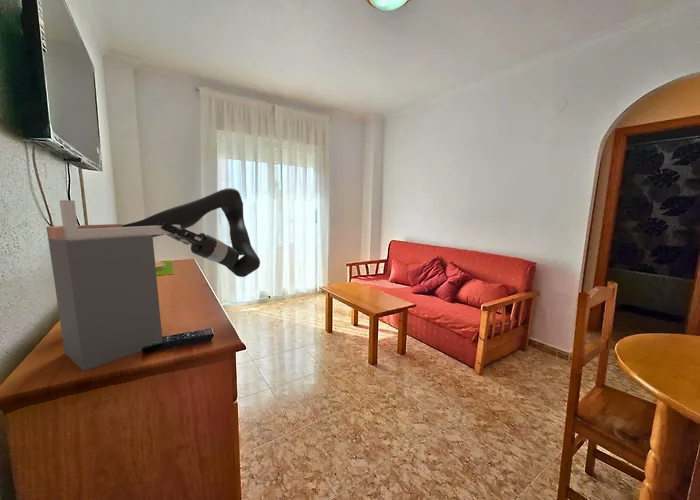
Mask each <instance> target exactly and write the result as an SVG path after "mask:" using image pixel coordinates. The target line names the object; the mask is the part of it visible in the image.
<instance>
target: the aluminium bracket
mask: <svg viewBox="0 0 700 500" xmlns="http://www.w3.org/2000/svg"><path fill="white" fill-rule="evenodd" d="M59 206H60V214H61V221H62V226H63V230H64V237H65V240H67V241H72V240H87V239H102V238H117V237H132V236H146V235H161V234H165V235H166V234H172V233H170V232H168V231H165V230H163V229H162V225H160V226H138V227H115V228H93V229H78V225H79V224H78V219H77V218H78V216H77V210H76V202H75V200H71V199H69V200H68V199H67V200H66V199H65V200H64V199H63V200H62V199H61V200H59ZM173 226H175V227H177V228H181V227H180V225H173ZM174 234H175V233H174ZM161 236H162V235H161Z"/></svg>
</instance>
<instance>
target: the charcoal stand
mask: <svg viewBox="0 0 700 500" xmlns="http://www.w3.org/2000/svg"><path fill="white" fill-rule="evenodd" d="M122 225H123V223H110V224H83V225H81V224H80V225H79V224H78V229H93V228H115V227H123V226H122ZM46 234H47V239H48V247H49V248H48V249H49V253H50V254H49V255H50V261H51V266H52V274H53V281H54V288H55V295H56V301H57V308H58V309H57V310H58V315H59V316H58V317H59V322H60V323H59V324H60V330H61V335H62V343H63V350H64V354H65V355H66V356H67V357H68V358H69V359H70V360H71V361H72V362H73V363H74V364H75V365H77V366H78V368H79V369H81V371H83V372H85V371H88V370H91V369H94V368H96V367H100V366H102V365H105V364H108V363H111V362H113V361H114V362H115V361H117V360H120V359H123V358H125V357H126V358H127V357H129V356H131V355H135V354H137V353H140V352H143V351H142V348H143V347H144V346H146V345H148V344H151V343H153V342H156V341H159V340H161V339H162V340H163V332H162V321H161V311H160V299H159V291H158V277H157V268H156V267H157V266H156V258H155V246H154V237H153V236H150V235H146V236H132V237H117V238H102V239H87V240H72V241H67V240H65V237H64V230H63V225H57V226H56V225H52V226H51V225H50V226H49V225H48V226H46Z"/></svg>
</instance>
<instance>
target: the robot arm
mask: <svg viewBox="0 0 700 500" xmlns="http://www.w3.org/2000/svg"><path fill="white" fill-rule="evenodd" d="M218 209H221V211H222V212H223V214H224V216H225V218H226V220H227V222H228V226H229V238H230V244H231V246H230V245H227V244H226V243H224V241H223V242H222V240H219V239H217V238H215V237H213V236H211V235H209V234H207V233H206V232H200V233H198V234H197V233H195V232H192V231H191V230H188V228H191V227H193V226H194V225H196V224H197V223H198V222H199V221H200V220H201V219H202V218H203V217H204V216H206V215H207V214H208V213H210V212H212V211H214V210H218ZM244 219H245V218H244V202H243V200H242V197H241V194H240V192H239V190H237V189H236V188H234V187H233V188H232V187H228V188H223V189H220V190H217V191H216V192H214V193H211V194H209V195H206V196H204V197H202V198H199V199H196V200H193V201H190V202H187V203H184V204H180V205H176V206H174V207H171V208H167V209H165V210H162V211H159V212H157V213H155V214H153V215H150V216H148V217H146V218H144V219H141V220H138V221H135V222H134V221H133V222H130V223H125V224H122V226H123V227H138V226H160V225H162V229H163V230H165V231H168V232H170V233H172V234H161V235H150V236H153V238H155V237H159V236H164V235H166V236H168V237H170V238H171V239H173V240H174V241H176V242H180V243H182V244H183V245H186V246H190V251H191V253H193V254H194V255H197V256H199V257H202V258H204V259H206V260H208V261H211V262H215V263H218V264H220V265H222V266H224V267H226V269H228V270H229V271H230V272H231V273H232V274H234V275H235V276H237V277H239V278H245V277H247V276H249V275H250V274H251V273H253V272H254V271H255V272H256V271H257V270H258V269H259V267H260V265H261V260H260V257H259V256H258V254H257V253H256V251H255V249H254V248H253V246H252V243H251V240H250V235H249V233H248V230H247V227H246V224H245V220H244ZM173 225H180V227H181V228H177V227H175V226H173ZM174 233H175V234H174ZM240 256H241V257H240Z"/></svg>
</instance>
